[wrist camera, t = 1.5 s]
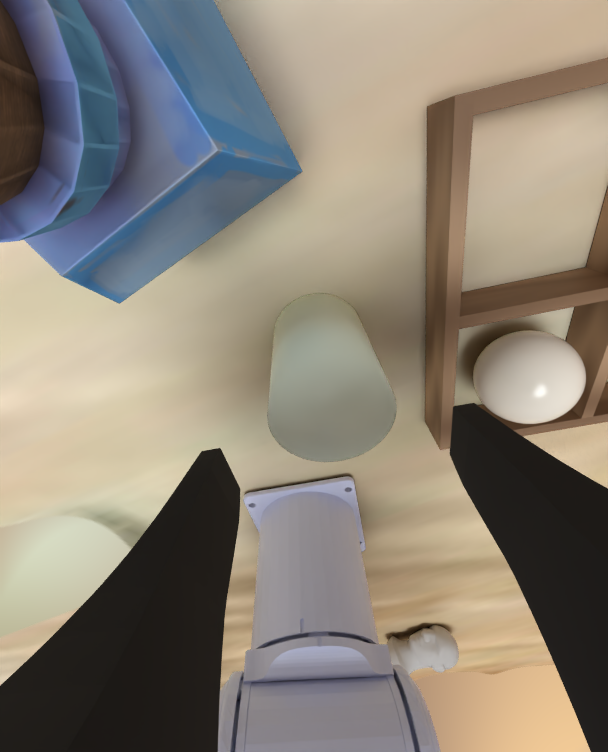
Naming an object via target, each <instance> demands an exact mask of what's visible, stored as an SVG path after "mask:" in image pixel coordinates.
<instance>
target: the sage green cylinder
mask: <svg viewBox="0 0 608 752" xmlns="http://www.w3.org/2000/svg"><path fill="white" fill-rule="evenodd" d="M395 416H396V399H395V396H394V393H393V391H392V389H391V387H390V384H389V382H388V380H387V378H386V376H385V373H384V371H383V369H382V367H381V365H380V362H379V360H378V358H377V356H376V354H375V351H374V349H373V347H372V345H371V343H370V341H369V338H368V336H367V334H366V332H365V330H364V327H363V325H362V323H361V321H360V319H359V317H358V315H357V313H356V311H355V310H354V309H353V307H352V306H351V305H350V304H349V303H347V302H346V301H345V300H343V299H341V298H339V297H337V296H334V295H330V294H324V293H315V294H309V295H305V296H302V297H300V298H298V299H296V300H294V301H293V302H291V303H290V304H289V305H287V306H286V307H285V308H284V310H283V311H282V312H281V313H280V315H279V317H278V319H277V321H276V324H275V328H274V338H273V351H272V364H271V377H270V389H269V402H268V415H267V417H268V425H269V428H270V431H271V433H272V435H273V437H274V438H275V440H276V441H277V442H278V443H279V444H280V445H281V446H282V447H283V448H284V449H286V450H287V451H289V452H290V453H292V454H294V455H296V456H298V457H301V458H304V459H307V460H312V461H319V462H334V461H342V460H346V459H350V458H353V457H356V456H359V455H361V454H363V453H365V452H367V451H369V450H370V449H372V448H373V447H375V446H376V445H377V444H378V443H380V442H381V441H382V440H383V438H384V437H385V436H386V435H387V434H388V432H389V431H390V429H391V427H392V425H393V423H394V420H395Z"/></svg>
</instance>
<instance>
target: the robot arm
mask: <svg viewBox="0 0 608 752" xmlns="http://www.w3.org/2000/svg"><path fill="white" fill-rule="evenodd" d="M450 456H451V458H452V461H453V463H454V465H455V468H456V470H457V473H458V475H459V477H460V479H461V482H462V484H463V486H464V488H465V489H466V491H467V493H468V495H469V496H470V498H471V500H472V502H473V503H474V505H475V507H476V509H477V510H478V512H479V514H480V516H481V517H482V519H483V521H484V522H485V524H486V526H487V528H488V529H489V531H490V533H491V535H492V536H493V538H494V540H495V541H496V543H497V545H498V547H499V548H500V550H501V552H502V553H503V555H504V557H505V559H506V561H507V562H508V564H509V566H510V568H511V570H512V572H513V574H514V576H515V578H516V580H517V582H518V584H519V586H520V588H521V591H522V593H523V595H524V597H525V599H526V601H527V603H528V605H529V608H530V610H531V612H532V614H533V616H534V618H535V621H536V623H537V625H538V627H539V630H540V632H541V634H542V636H543V639H544V641H545V643H546V645H547V647H548V650H549V652H550V654H551V656H552V659H553V661H554V663H555V666H556V668H557V671H558V673H559V675H560V677H561V680H562V682H563V684H564V687H565V689H566V691H567V694H568V696H569V699H570V701H571V703H572V706H573V708H574V710H575V713H576V715H577V718H578V720H579V723H580V725H581V728H582V730H583V733H584V735H585V738H586V740H587V743H588V745H589V748H590V750H591V752H608V489H607V488H606V487H604V486H602V485H600V484H598V483H597V482H595V481H593V480H591V479H590V478H588V477H586V476H585V475H583V474H581V473H580V472H578V471H576V470H574V469H573V468H571V467H569V466H568V465H566V464H564V463H563V462H561V461H560V460H558V459H556V458H555V457H553V456H552V455H550V454H548V453H547V452H545V451H544V450H542V449H541V448H539V447H538V446H536V445H534V444H533V443H531V442H530V441H528V440H527V439H525V438H524V437H522V436H521V435H519V434H518V433H517V432H515V431H514V430H512V429H511V428H509V427H508V426H506V425H505V424H503V423H502V422H501V421H499V420H498V419H496V418H495V417H493V416H492V415H491V414H489V413H488V412H486V411H485V410H483V409H482V408H481V407H479V406H478V405H476V404H475V403H471V404H465V405H460V406H454V407H453V414H452V428H451V443H450ZM243 501H244V503H245V505H246V508H247V510H248V512H249V514H250V516H251V518H252V520H253V522H254V524H255V526H256V528H257V530H258V532H259V534H260V536H259V549H258V562H257V576H256V589H255V602H254V616H253V629H252V643H251V650H247V651H246V654H245V666H244V672H243V671H236V672H233V673H232V674H231V675H230V677H229V680H228V681H227V682H226V683H225V684H224V686H223V687H222V688H221V690H220V679H221V661H222V645H223V631H224V617H225V608H226V600H227V593H228V587H229V581H230V575H231V569H232V563H233V557H234V550H235V544H236V538H237V531H238V524H239V512H240V487H239V485H238V483H237V481H236V479H235V477H234V475H233V473H232V471H231V469H230V467H229V465H228V463H227V461H226V459H225V457H224V455H223V453H222V451H221V449H220V448H218V449H212V450H207V451H202V452H201V453H200V455H199V456H198V458H197V459H196V460H195V462H194V463H193V465H192V466H191V468H190V469H189V471H188V472H187V474H186V475H185V477H184V478H183V479H182V481H181V482H180V484H179V485H178V487H177V488H176V490H175V491H174V493H173V494H172V495H171V497H170V498H169V500H168V501H167V503H166V504H165V505H164V507H163V508H162V510H161V511H160V512H159V514H158V515H157V517H156V518H155V519H154V521H153V522H152V523H151V525H150V526H149V527H148V529H147V530H146V531H145V533H144V534H143V535H142V536H141V538H140V539H139V540H138V542H137V543H136V544H135V546H134V547H133V548H132V549H131V551H130V552H129V553H128V555H127V556H126V557H125V558H124V559H123V560H122V562H121V563H120V564H119V565H118V566H117V568H116V569H115V570H114V571H113V572H112V573H111V574H110V576H109V577H108V578H107V579H106V580H105V581H104V583H103V584H102V585H101V586H100V587H99V588H98V589H97V590H96V591H95V593H94V594H93V595H92V596H91V597H90V598H89V599H88V600H87V601H86V602H85V603H84V604H83V605H82V606H81V607H80V608H79V609H78V610H77V611H76V612H75V613H74V614H73V615H72V617H71V618H70V619H69V620H68V621H67V622H66V623H65V624H64V625H63V626H62V627H61V628H60V629H59V630H58V631H57V632H56V633H55V634H54V635H53V636H52V637H51V638H50V639H49V640H48V641H47V642H46V643H45V644H44V645H43V646H42V647H41V648H40V649H39V650H38V651H37V652H36V653H35V654H34V655H33V656H32V657H31V658H30V659H28V660H27V661H26V662H25V663H24V664H23V665H22V666H21V667H20V668H19V669H18V670H17V671H16V672H15V673H13V674H12V675H11V676H10V677H9V678H8V679H7V680H6V681H5V682H4V683H3V684H2V685H1V686H0V752H440V748H439V743H438V740H437V736H436V732H435V729H434V726H433V722H432V719H431V716H430V713H429V710H428V707H427V705H426V702H425V700H424V697H423V695H422V693H421V691H420V689H419V687H418V686H417V684H416V683H415V682H414V680H413V679H412V678H411V677H410V676H409V675H408V673H407V671H406V670H405V669H404V668H403V667H402V666H400V665H398V664H396V665H392V662H391V658H390V653H389V648H388V645H387V644H379V642H378V636H377V631H376V626H375V621H374V615H373V610H372V605H371V599H370V594H369V589H368V584H367V578H366V573H365V568H364V562H363V557H362V552H363V551H364V550H365V549H366V546H365V541H364V535H363V529H362V524H361V518H360V513H359V507H358V501H357V496H356V490H355V485H354V480H353V478H351V477H348V476H346V477H340V478H334V479H328V480H322V481H316V482H310V483H304V484H298V485H292V486H286V487H280V488H274V489H268V490H262V491H256V492H250V493H246V494H245V495H244V499H243Z"/></svg>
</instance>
